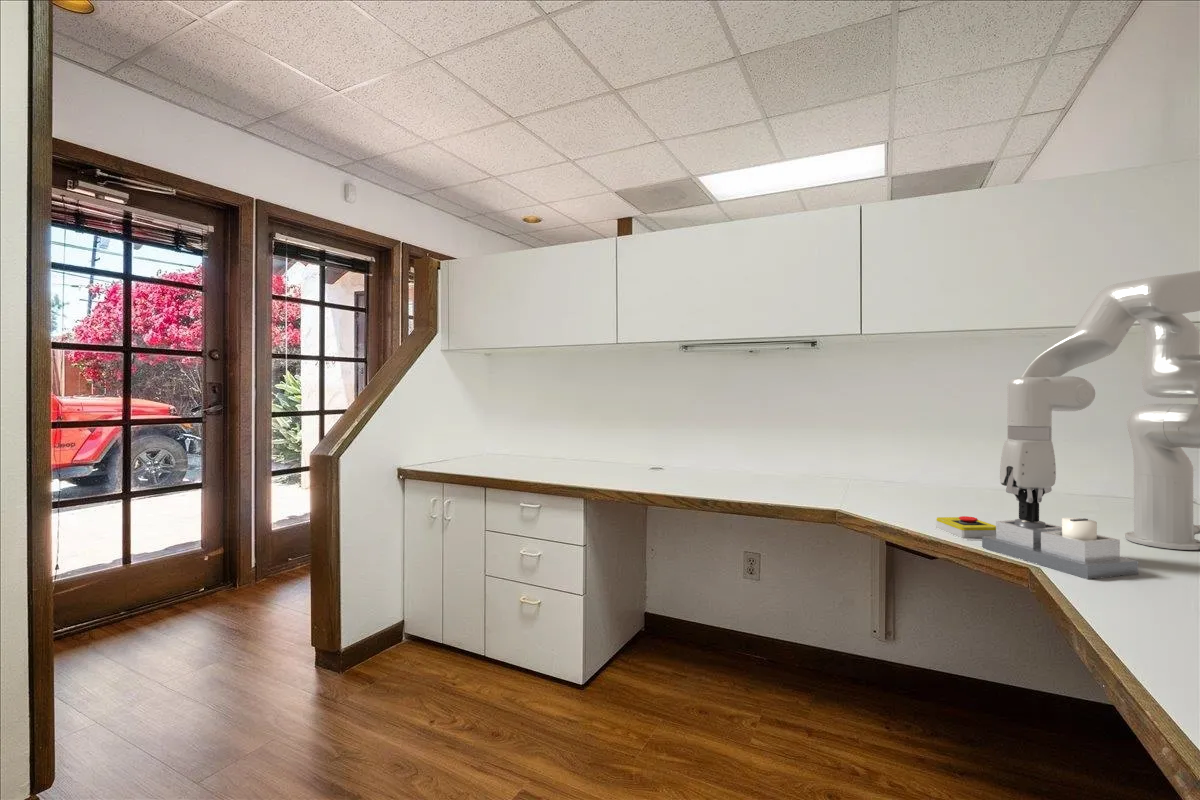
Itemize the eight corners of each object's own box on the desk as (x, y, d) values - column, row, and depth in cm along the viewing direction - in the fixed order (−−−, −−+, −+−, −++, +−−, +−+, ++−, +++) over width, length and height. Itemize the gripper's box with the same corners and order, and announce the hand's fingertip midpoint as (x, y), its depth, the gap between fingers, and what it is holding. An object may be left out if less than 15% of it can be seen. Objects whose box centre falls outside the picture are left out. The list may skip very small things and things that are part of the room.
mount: (1025, 544, 126) (1025, 517, 126) (1138, 574, 105) (1137, 541, 105) (982, 547, 124) (981, 520, 124) (1087, 579, 102) (1087, 545, 102)
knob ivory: (1075, 546, 113) (1075, 515, 113) (1104, 553, 108) (1103, 521, 108) (1055, 548, 112) (1055, 517, 111) (1082, 555, 106) (1082, 522, 106)
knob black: (1028, 545, 122) (1027, 517, 122) (1051, 551, 117) (1051, 522, 117) (1008, 547, 121) (1008, 518, 121) (1032, 553, 116) (1031, 523, 116)
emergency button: (965, 523, 130) (929, 510, 145) (965, 542, 130) (929, 527, 145) (1006, 523, 130) (965, 510, 145) (1006, 542, 130) (965, 527, 145)
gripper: (1039, 433, 124) (1039, 515, 125) (984, 434, 121) (984, 518, 121) (1075, 435, 117) (1074, 522, 117) (1017, 436, 114) (1017, 526, 114)
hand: (1028, 520), depth 119 cm, fingers closed
